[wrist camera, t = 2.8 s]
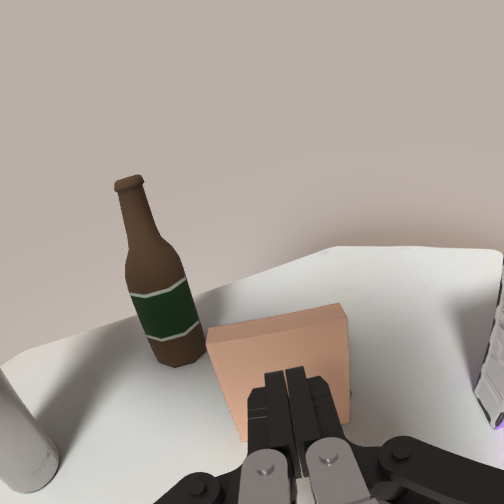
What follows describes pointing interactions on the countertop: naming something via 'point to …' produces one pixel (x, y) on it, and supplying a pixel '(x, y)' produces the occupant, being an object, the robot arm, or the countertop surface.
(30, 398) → the countertop surface
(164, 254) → the beer bottle
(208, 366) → the countertop surface
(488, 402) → the candy box
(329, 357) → the tile
